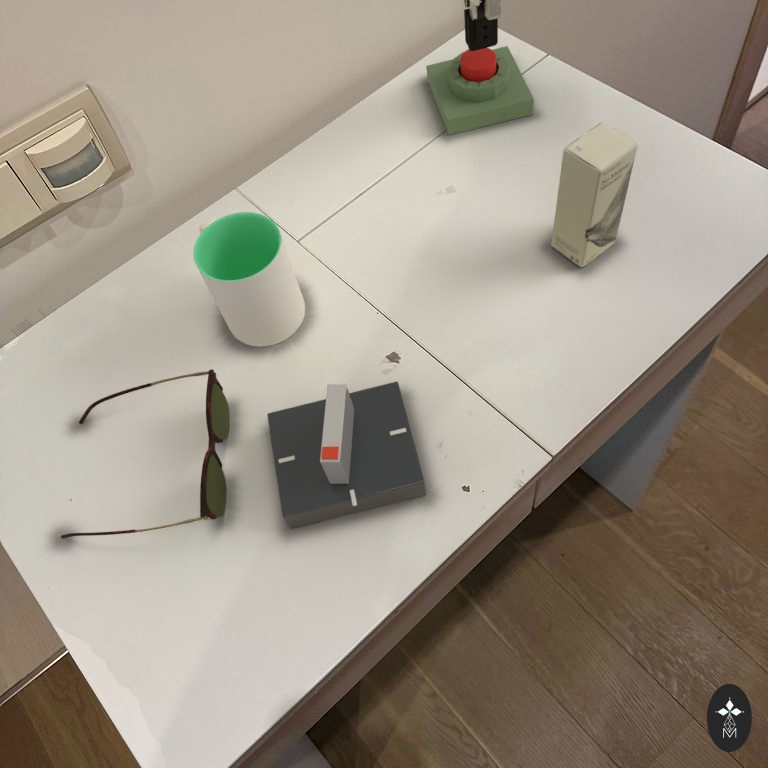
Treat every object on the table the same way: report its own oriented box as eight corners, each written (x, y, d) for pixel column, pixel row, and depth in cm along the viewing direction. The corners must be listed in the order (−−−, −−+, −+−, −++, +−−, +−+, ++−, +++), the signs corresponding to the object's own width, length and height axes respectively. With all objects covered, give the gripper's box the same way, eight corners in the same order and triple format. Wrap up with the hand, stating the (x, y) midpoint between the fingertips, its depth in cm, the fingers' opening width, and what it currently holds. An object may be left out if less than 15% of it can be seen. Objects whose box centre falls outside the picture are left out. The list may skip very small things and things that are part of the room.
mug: (191, 293, 78) (153, 225, 69) (251, 249, 80) (222, 178, 72) (258, 360, 73) (227, 296, 64) (321, 311, 75) (299, 243, 66)
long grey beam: (336, 409, 66) (326, 382, 62) (354, 409, 66) (345, 382, 61) (329, 484, 62) (319, 460, 58) (348, 483, 62) (339, 460, 58)
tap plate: (399, 391, 69) (396, 374, 67) (428, 501, 64) (426, 487, 61) (274, 422, 69) (265, 406, 67) (292, 535, 64) (283, 523, 61)
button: (490, 56, 86) (490, 43, 85) (500, 78, 84) (500, 64, 83) (456, 64, 86) (456, 51, 85) (466, 86, 84) (465, 73, 83)
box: (581, 270, 74) (598, 174, 63) (549, 246, 76) (560, 148, 65) (618, 241, 75) (641, 142, 64) (585, 218, 77) (602, 118, 66)
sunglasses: (225, 536, 64) (202, 516, 60) (66, 558, 66) (33, 540, 62) (231, 392, 72) (211, 365, 67) (88, 415, 74) (59, 391, 69)
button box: (507, 61, 91) (507, 32, 88) (532, 114, 86) (534, 85, 82) (427, 81, 91) (425, 52, 87) (448, 135, 86) (446, 106, 82)
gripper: (546, -112, 62) (536, 77, 78) (494, -187, 70) (495, -2, 86) (458, -90, 62) (466, 95, 78) (417, -168, 70) (431, 14, 86)
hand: (481, 44), depth 82 cm, fingers closed
